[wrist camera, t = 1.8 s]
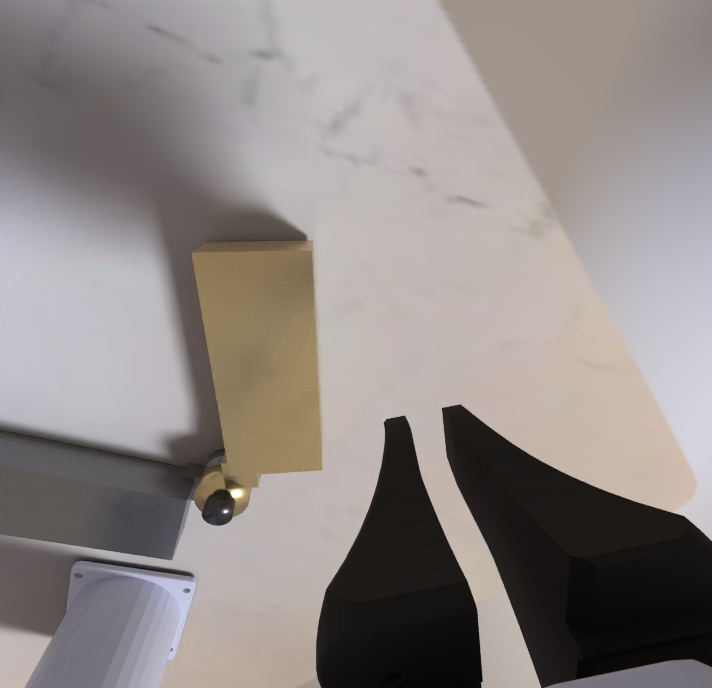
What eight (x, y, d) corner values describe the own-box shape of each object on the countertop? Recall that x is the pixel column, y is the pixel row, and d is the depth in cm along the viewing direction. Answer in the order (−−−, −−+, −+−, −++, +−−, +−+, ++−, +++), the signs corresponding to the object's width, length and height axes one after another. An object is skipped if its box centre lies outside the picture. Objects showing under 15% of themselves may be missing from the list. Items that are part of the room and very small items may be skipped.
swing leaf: (208, 491, 25) (197, 523, 23) (157, 243, 19) (136, 253, 16) (323, 484, 25) (324, 514, 23) (312, 240, 19) (312, 250, 17)
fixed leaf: (233, 536, 27) (222, 587, 24) (-24, 491, 24) (-78, 544, 20) (260, 454, 24) (251, 499, 21) (-24, 392, 21) (-87, 434, 18)
